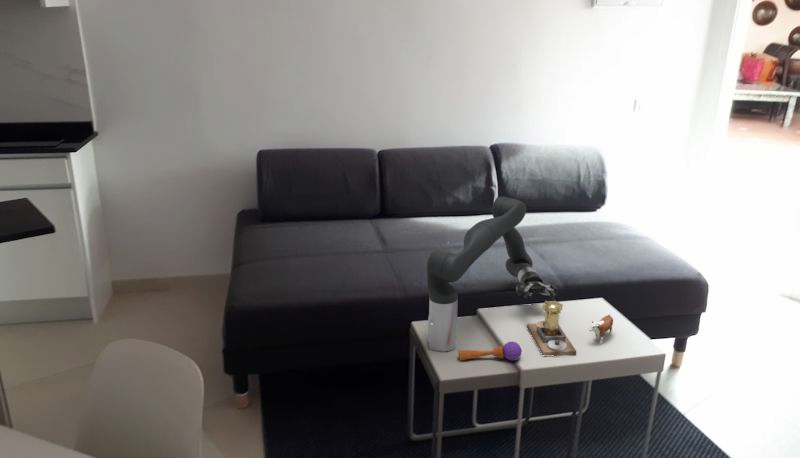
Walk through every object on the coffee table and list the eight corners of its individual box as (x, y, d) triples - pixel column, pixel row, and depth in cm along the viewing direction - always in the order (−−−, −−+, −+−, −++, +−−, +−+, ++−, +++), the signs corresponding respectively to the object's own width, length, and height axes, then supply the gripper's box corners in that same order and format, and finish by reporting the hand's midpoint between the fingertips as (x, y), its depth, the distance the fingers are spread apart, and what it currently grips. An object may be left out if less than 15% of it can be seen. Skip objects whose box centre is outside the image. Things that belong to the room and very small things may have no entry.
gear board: (542, 356, 204) (543, 346, 202) (526, 327, 222) (527, 318, 221) (576, 355, 204) (577, 345, 203) (557, 326, 223) (557, 317, 222)
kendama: (457, 343, 204) (518, 338, 204) (459, 361, 205) (519, 356, 205) (459, 349, 198) (522, 344, 198) (460, 367, 199) (523, 362, 199)
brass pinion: (543, 341, 210) (545, 308, 206) (538, 332, 216) (540, 301, 212) (562, 340, 210) (565, 307, 207) (557, 332, 216) (559, 300, 212)
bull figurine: (584, 344, 211) (587, 322, 209) (604, 330, 220) (606, 309, 218) (596, 348, 208) (599, 326, 206) (615, 334, 217) (618, 313, 215)
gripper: (511, 271, 234) (523, 288, 219) (549, 270, 235) (563, 287, 220) (510, 289, 237) (521, 308, 221) (547, 288, 238) (561, 307, 222)
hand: (542, 298), depth 221 cm, fingers open, 8 cm apart
